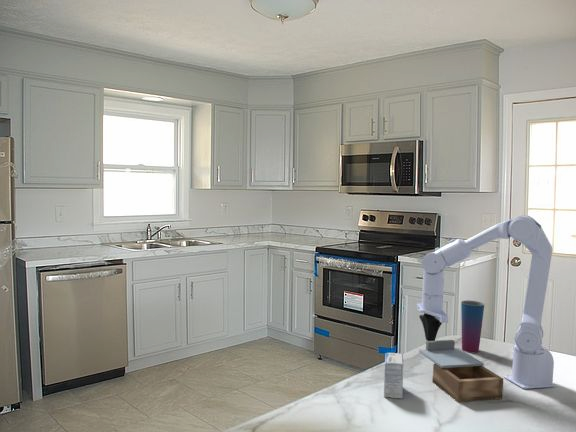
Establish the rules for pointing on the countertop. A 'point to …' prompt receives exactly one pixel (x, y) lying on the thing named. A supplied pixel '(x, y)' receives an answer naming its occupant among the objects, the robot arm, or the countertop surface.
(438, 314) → the robot arm
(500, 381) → the walnut box
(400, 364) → the medicine box
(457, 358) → the lid
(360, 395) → the countertop surface
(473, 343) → the cup
